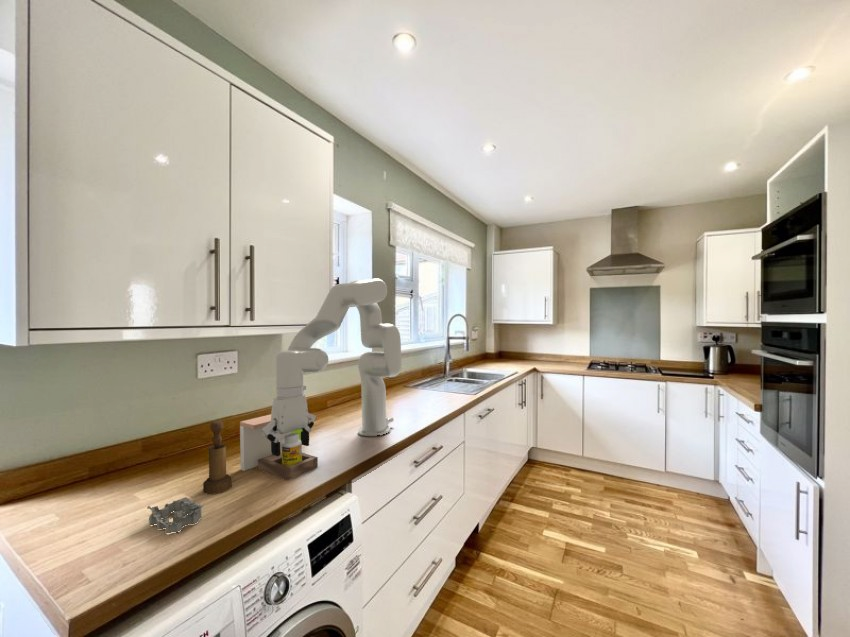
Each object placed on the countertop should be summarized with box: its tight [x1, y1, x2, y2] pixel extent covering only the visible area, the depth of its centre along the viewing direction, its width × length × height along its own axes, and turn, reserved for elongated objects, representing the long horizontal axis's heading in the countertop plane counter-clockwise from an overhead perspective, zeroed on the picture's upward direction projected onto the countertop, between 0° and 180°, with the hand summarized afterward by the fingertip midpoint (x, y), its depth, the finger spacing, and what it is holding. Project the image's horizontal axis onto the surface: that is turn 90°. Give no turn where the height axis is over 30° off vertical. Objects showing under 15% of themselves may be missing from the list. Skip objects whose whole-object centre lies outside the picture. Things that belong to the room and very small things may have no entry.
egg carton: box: [146, 496, 203, 533], centre depth 78 cm, size 11×8×4 cm
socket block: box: [257, 451, 319, 481], centre depth 106 cm, size 11×14×3 cm
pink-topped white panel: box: [239, 413, 291, 472], centre depth 111 cm, size 16×8×14 cm, turn 145°
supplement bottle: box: [282, 433, 303, 467], centre depth 105 cm, size 6×6×10 cm
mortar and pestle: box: [202, 419, 233, 495], centre depth 94 cm, size 7×6×18 cm
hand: (291, 450), depth 105 cm, fingers open, 9 cm apart
